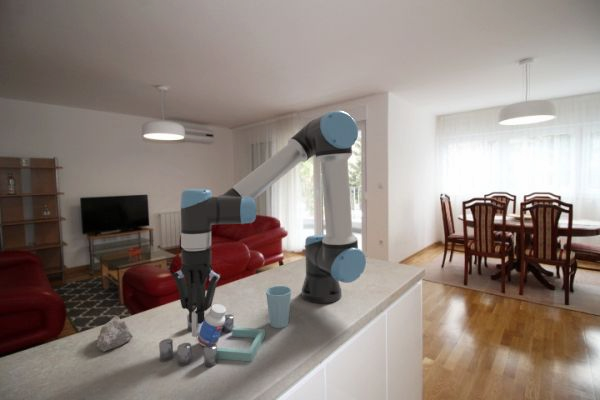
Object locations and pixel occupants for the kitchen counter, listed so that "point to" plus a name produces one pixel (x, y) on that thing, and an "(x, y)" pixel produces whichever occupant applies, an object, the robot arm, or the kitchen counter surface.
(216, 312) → the pill bottle
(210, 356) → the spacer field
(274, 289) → the cup
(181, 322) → the kitchen counter surface
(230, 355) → the teal bay
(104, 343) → the stone
